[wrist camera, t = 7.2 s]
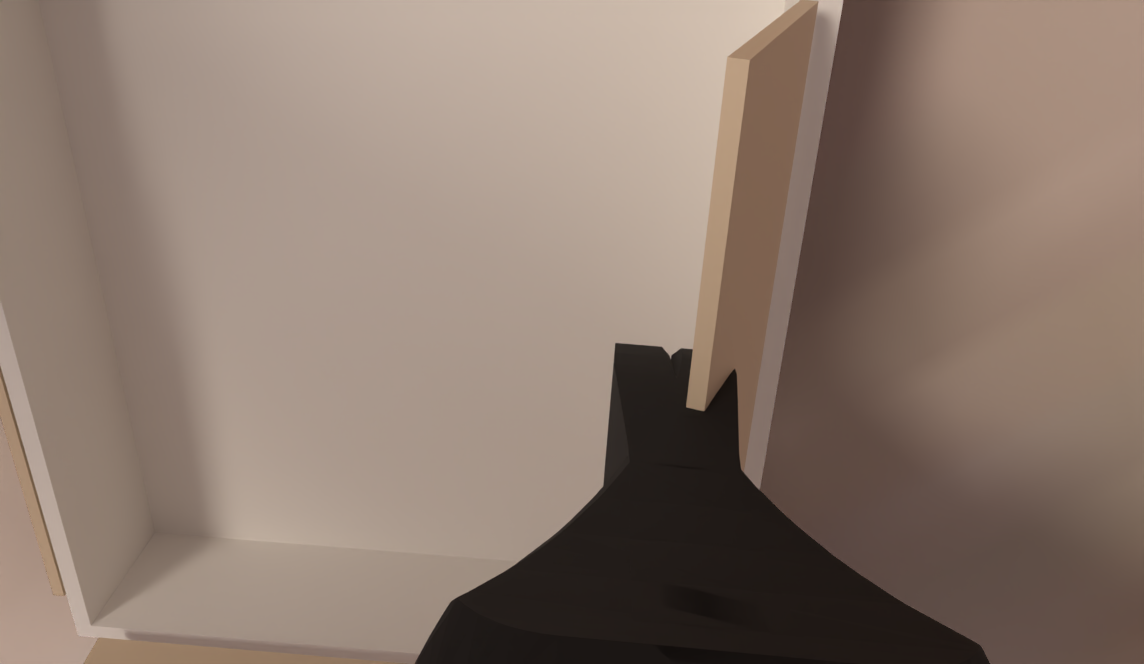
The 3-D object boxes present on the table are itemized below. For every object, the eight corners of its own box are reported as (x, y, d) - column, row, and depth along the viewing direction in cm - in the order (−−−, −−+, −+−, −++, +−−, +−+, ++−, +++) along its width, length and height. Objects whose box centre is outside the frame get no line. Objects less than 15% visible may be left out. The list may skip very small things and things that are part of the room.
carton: (-38, -251, 13) (-204, -269, 11) (833, -212, 13) (881, -220, 10) (140, 528, 20) (65, 635, 18) (715, 575, 20) (725, 691, 17)
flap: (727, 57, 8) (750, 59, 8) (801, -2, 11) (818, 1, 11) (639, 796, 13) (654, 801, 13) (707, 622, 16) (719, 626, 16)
